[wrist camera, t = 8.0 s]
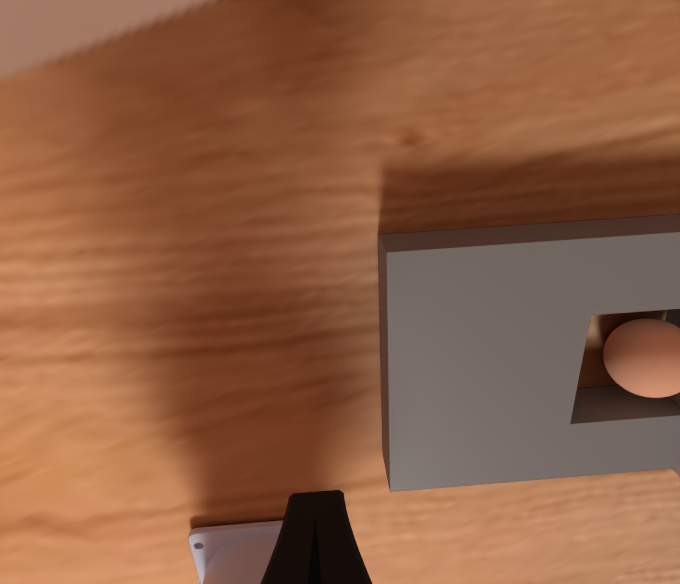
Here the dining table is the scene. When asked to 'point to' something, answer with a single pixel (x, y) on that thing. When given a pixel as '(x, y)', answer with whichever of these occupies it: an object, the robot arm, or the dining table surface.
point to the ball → (645, 357)
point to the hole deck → (519, 351)
